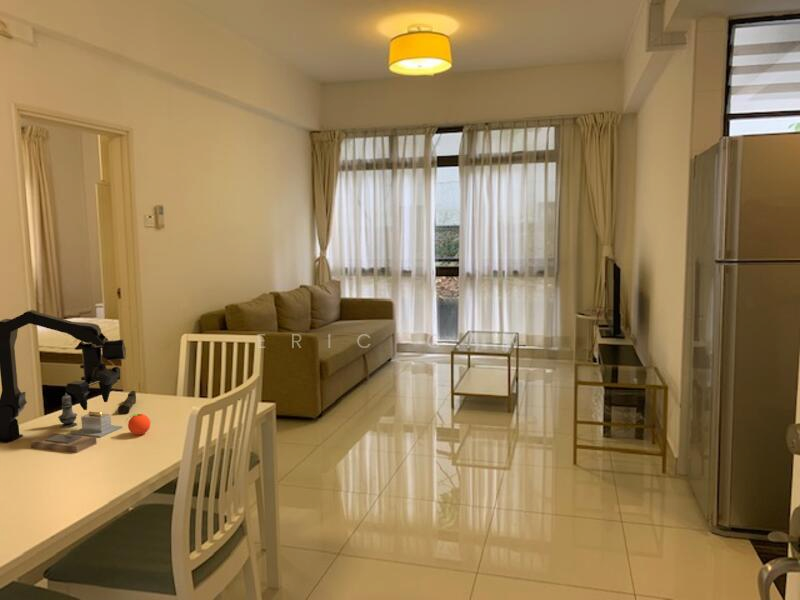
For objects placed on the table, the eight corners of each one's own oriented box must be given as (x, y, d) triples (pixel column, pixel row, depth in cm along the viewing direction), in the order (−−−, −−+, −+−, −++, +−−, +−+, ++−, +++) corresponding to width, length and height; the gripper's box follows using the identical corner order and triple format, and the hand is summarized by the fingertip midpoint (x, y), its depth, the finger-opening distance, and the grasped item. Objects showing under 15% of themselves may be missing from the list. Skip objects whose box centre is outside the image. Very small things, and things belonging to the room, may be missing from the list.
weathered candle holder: (70, 428, 206) (67, 395, 204) (54, 428, 206) (52, 394, 205) (81, 423, 211) (79, 390, 210) (66, 422, 212) (64, 389, 211)
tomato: (121, 438, 196) (120, 417, 196) (130, 430, 203) (129, 410, 202) (146, 437, 197) (145, 417, 196) (154, 430, 204) (153, 410, 203)
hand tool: (129, 414, 221) (128, 402, 221) (118, 415, 221) (117, 403, 220) (142, 400, 240) (141, 389, 239) (131, 400, 239) (130, 389, 239)
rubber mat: (71, 434, 200) (71, 432, 200) (93, 424, 210) (93, 423, 210) (100, 437, 197) (100, 436, 197) (122, 427, 206) (121, 426, 206)
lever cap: (82, 430, 202) (80, 413, 201) (92, 426, 206) (91, 409, 206) (101, 432, 200) (100, 415, 199) (111, 428, 204) (110, 411, 203)
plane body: (30, 447, 188) (30, 440, 188) (51, 438, 196) (51, 431, 196) (77, 452, 184) (76, 445, 183) (96, 443, 191) (96, 436, 191)
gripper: (90, 369, 189) (94, 416, 191) (131, 356, 207) (134, 399, 209) (62, 367, 192) (66, 413, 194) (105, 354, 210) (108, 397, 212)
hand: (95, 405), depth 202 cm, fingers open, 9 cm apart
